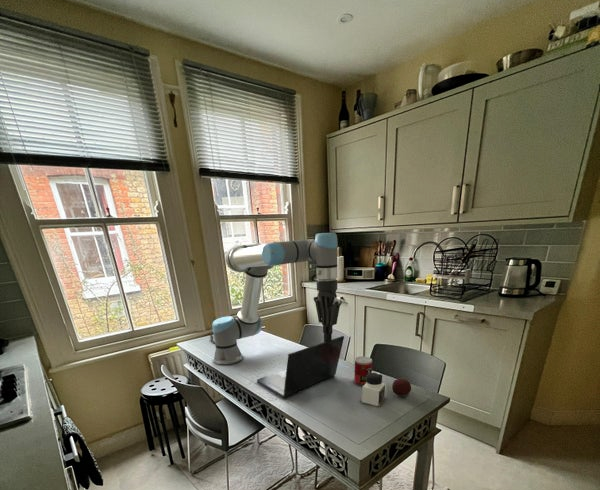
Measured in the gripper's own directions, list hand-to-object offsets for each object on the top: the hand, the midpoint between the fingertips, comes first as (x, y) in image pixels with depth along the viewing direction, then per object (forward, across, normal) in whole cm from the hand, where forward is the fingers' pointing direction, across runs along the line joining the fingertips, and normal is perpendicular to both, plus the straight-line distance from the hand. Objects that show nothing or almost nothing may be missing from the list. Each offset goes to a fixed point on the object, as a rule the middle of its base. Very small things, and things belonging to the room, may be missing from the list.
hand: (327, 341), depth 123 cm
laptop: (+25, -22, 0) cm, 33 cm away
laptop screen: (+13, -9, 0) cm, 16 cm away
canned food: (+25, +1, +21) cm, 33 cm away
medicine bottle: (+25, +15, +11) cm, 31 cm away
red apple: (+25, +20, +23) cm, 39 cm away
